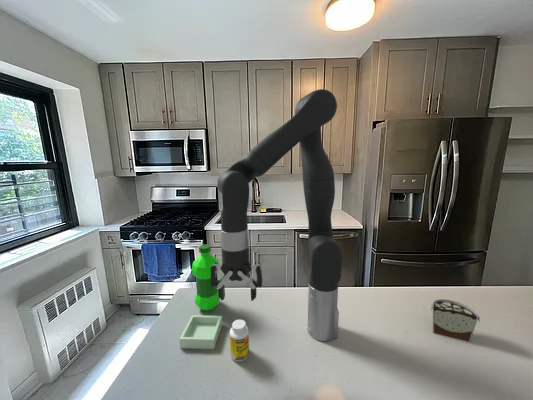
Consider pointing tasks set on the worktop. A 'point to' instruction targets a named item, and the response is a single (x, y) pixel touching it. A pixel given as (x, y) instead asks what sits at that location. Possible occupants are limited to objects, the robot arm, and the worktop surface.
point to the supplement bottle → (239, 340)
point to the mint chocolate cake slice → (453, 320)
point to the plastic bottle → (205, 279)
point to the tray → (201, 332)
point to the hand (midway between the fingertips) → (237, 298)
